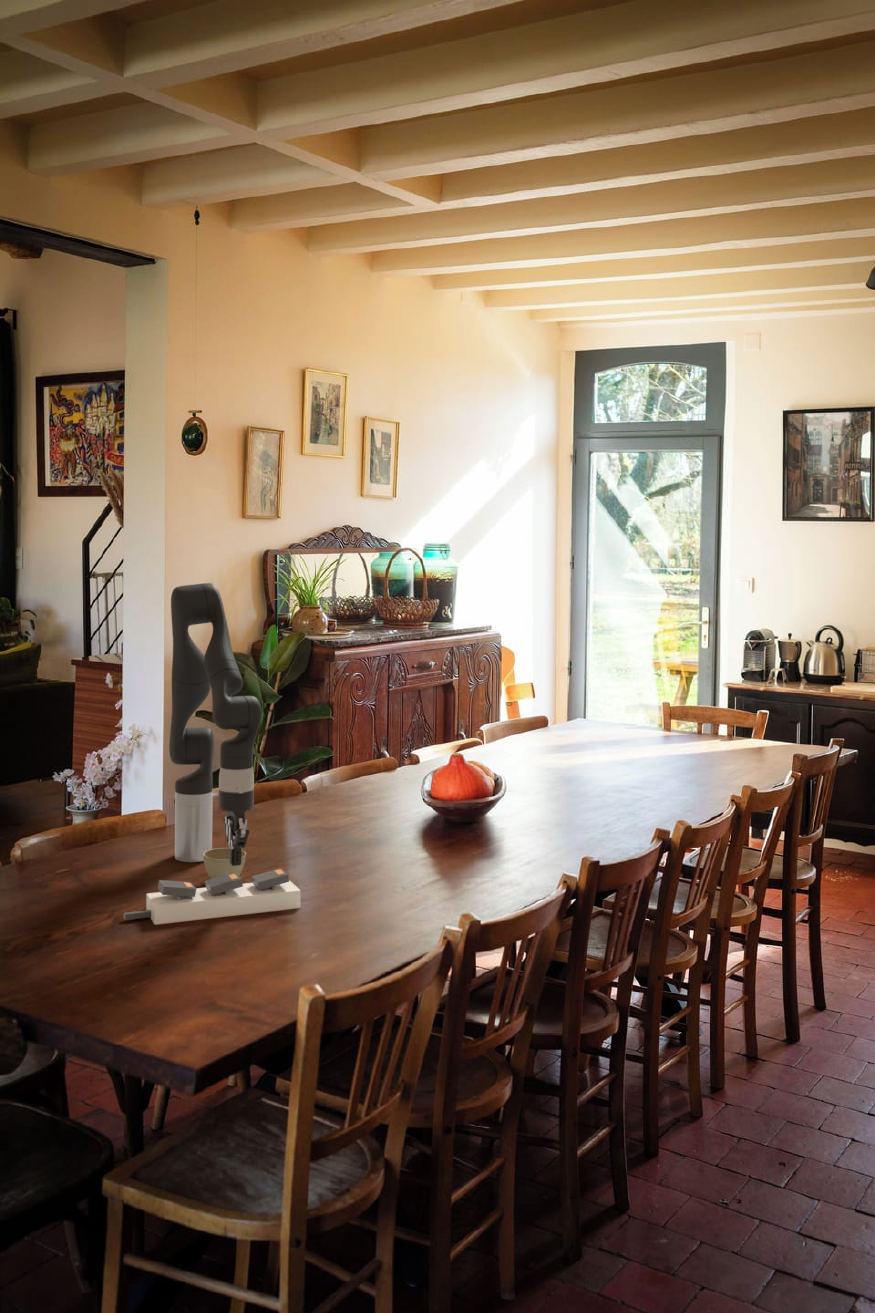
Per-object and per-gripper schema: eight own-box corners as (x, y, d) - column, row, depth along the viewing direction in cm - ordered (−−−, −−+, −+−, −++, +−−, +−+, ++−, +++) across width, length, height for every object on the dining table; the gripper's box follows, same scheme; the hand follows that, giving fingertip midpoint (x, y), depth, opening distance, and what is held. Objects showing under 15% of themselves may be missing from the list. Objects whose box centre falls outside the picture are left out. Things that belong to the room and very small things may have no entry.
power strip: (120, 914, 252) (120, 892, 251) (287, 896, 267) (288, 875, 267) (128, 927, 243) (128, 905, 243) (300, 908, 259) (300, 887, 259)
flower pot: (204, 890, 270) (204, 860, 269) (201, 877, 279) (201, 848, 278) (248, 888, 272) (248, 858, 272) (243, 875, 282) (243, 846, 281)
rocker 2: (206, 888, 257) (204, 880, 257) (236, 880, 260) (235, 872, 259) (211, 895, 252) (210, 887, 252) (243, 886, 255) (241, 878, 255)
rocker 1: (157, 888, 252) (159, 879, 252) (189, 890, 255) (191, 881, 255) (162, 895, 248) (164, 886, 248) (194, 897, 251) (196, 888, 251)
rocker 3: (252, 883, 261) (251, 875, 261) (282, 875, 264) (281, 867, 264) (259, 890, 257) (257, 882, 256) (289, 881, 260) (287, 873, 259)
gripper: (211, 782, 259) (211, 858, 261) (227, 794, 247) (226, 874, 249) (245, 780, 262) (244, 855, 264) (261, 792, 250) (260, 871, 252)
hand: (235, 864), depth 256 cm, fingers closed
